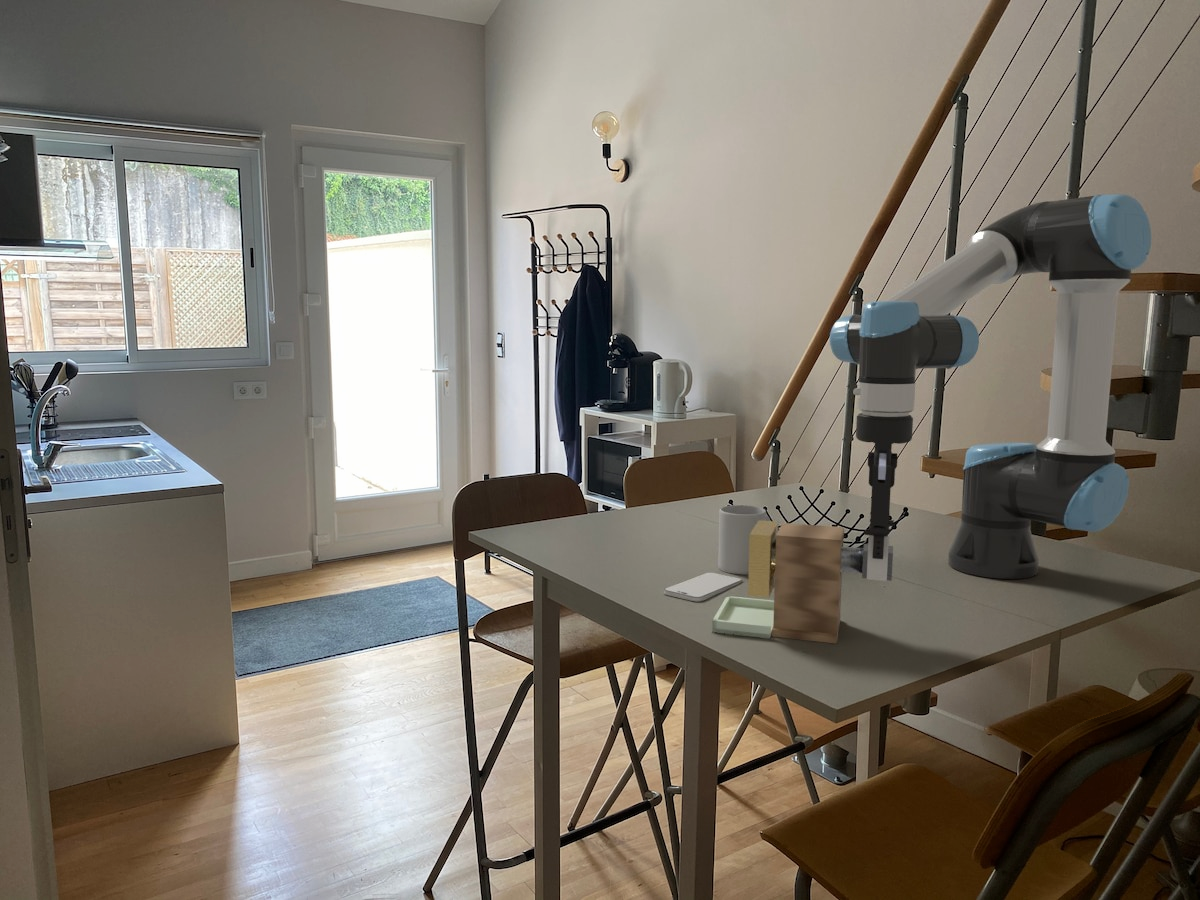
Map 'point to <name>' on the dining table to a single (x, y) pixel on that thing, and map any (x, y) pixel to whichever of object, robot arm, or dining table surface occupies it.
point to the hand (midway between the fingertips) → (876, 574)
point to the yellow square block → (761, 559)
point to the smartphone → (702, 586)
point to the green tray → (745, 617)
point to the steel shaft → (853, 560)
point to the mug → (737, 536)
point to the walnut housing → (808, 582)
